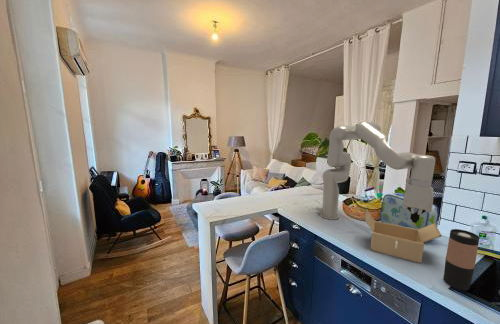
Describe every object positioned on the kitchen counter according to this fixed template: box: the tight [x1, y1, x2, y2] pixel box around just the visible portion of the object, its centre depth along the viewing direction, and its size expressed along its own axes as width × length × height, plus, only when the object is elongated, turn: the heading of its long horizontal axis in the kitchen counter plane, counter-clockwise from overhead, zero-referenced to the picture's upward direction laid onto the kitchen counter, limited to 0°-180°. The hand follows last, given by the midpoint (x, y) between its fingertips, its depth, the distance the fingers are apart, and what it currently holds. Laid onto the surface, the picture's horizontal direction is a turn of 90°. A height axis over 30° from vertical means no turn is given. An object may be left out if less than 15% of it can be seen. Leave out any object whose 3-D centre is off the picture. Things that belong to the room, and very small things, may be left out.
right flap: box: [419, 223, 442, 243], centre depth 96 cm, size 7×13×1 cm
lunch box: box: [379, 192, 440, 230], centre depth 119 cm, size 26×11×21 cm, turn 21°
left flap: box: [363, 208, 375, 232], centre depth 108 cm, size 7×13×1 cm
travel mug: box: [443, 228, 480, 291], centre depth 79 cm, size 8×8×20 cm
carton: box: [369, 220, 425, 264], centre depth 102 cm, size 19×18×9 cm
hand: (414, 221), depth 98 cm, fingers closed
